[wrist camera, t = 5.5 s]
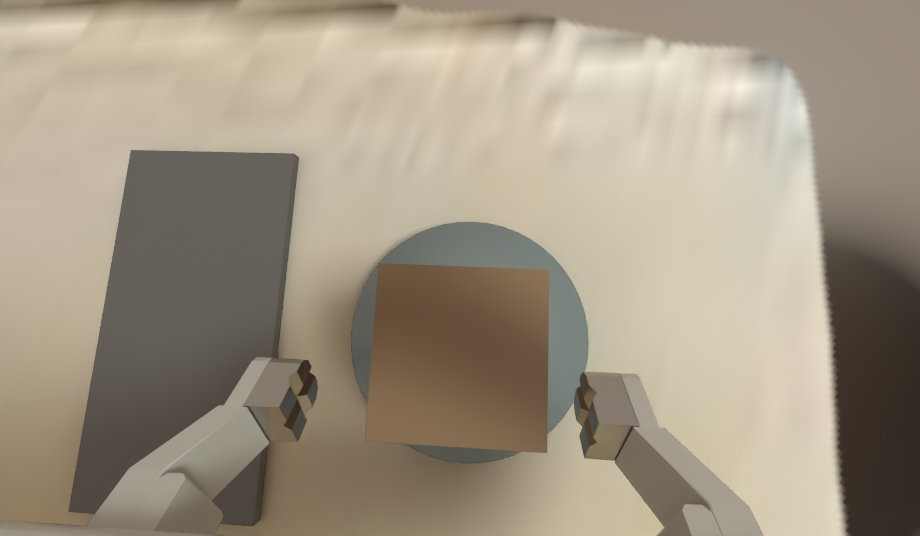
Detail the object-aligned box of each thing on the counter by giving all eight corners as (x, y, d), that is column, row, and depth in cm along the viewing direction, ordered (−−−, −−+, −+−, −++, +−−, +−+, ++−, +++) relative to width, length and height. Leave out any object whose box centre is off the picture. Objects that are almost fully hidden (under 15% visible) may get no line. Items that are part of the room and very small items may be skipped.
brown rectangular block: (514, 389, 17) (547, 452, 9) (418, 383, 17) (364, 441, 9) (516, 291, 17) (549, 269, 9) (423, 288, 18) (378, 263, 10)
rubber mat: (259, 520, 17) (252, 526, 17) (80, 506, 18) (68, 511, 17) (298, 157, 20) (294, 153, 19) (139, 154, 20) (130, 150, 20)
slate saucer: (582, 462, 17) (605, 495, 14) (348, 447, 18) (320, 475, 14) (582, 230, 19) (603, 212, 15) (367, 223, 19) (344, 204, 16)
